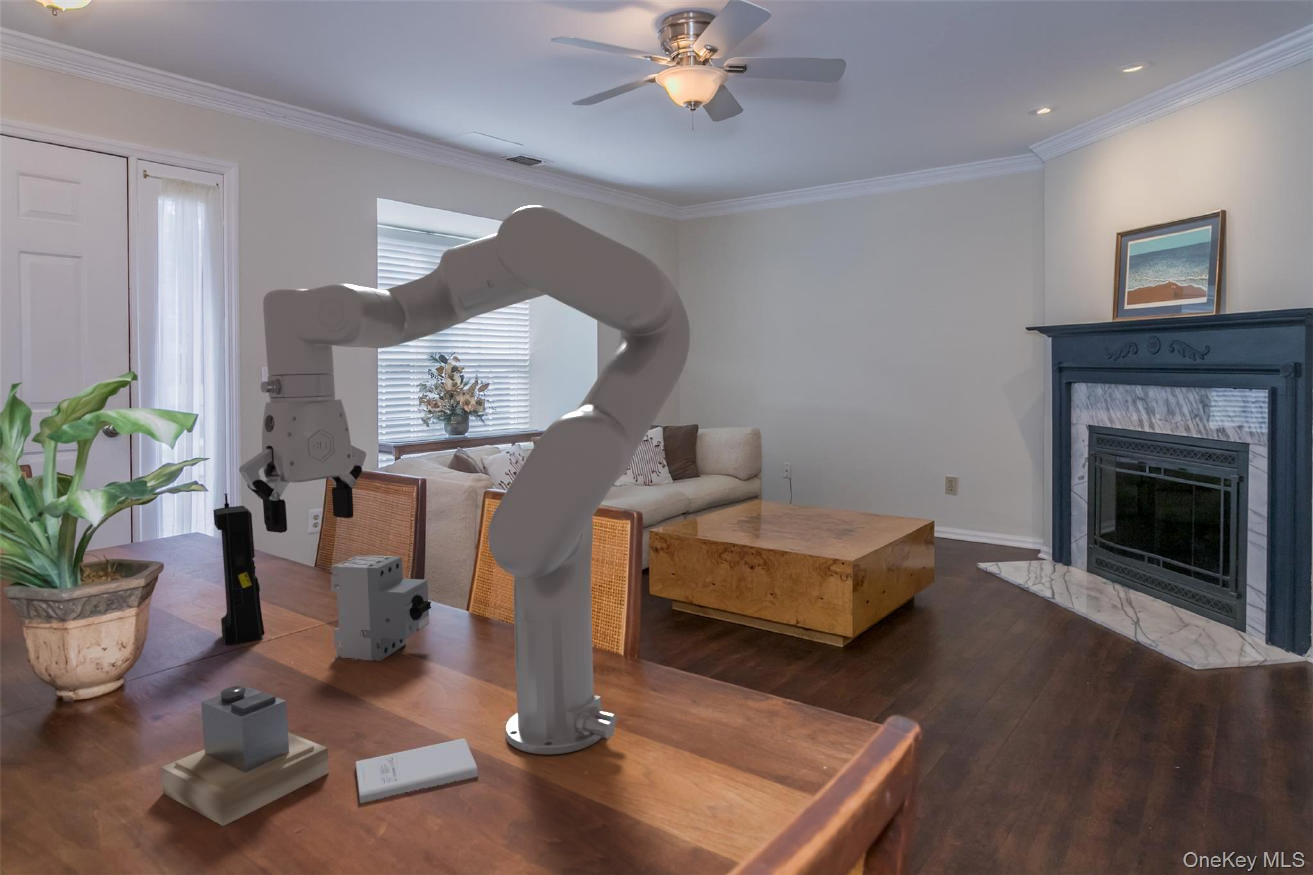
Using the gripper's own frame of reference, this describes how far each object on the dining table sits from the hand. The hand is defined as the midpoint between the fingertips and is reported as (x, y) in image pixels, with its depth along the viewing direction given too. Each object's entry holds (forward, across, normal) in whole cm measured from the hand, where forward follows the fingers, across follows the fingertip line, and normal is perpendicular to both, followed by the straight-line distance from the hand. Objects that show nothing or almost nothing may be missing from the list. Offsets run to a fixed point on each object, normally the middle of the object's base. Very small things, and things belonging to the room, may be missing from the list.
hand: (311, 524), depth 99 cm
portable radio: (+26, +16, +42) cm, 51 cm away
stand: (+26, -14, -5) cm, 30 cm away
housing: (+23, -14, -5) cm, 27 cm away
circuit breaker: (+26, +22, +13) cm, 37 cm away
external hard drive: (+27, -3, -20) cm, 34 cm away
